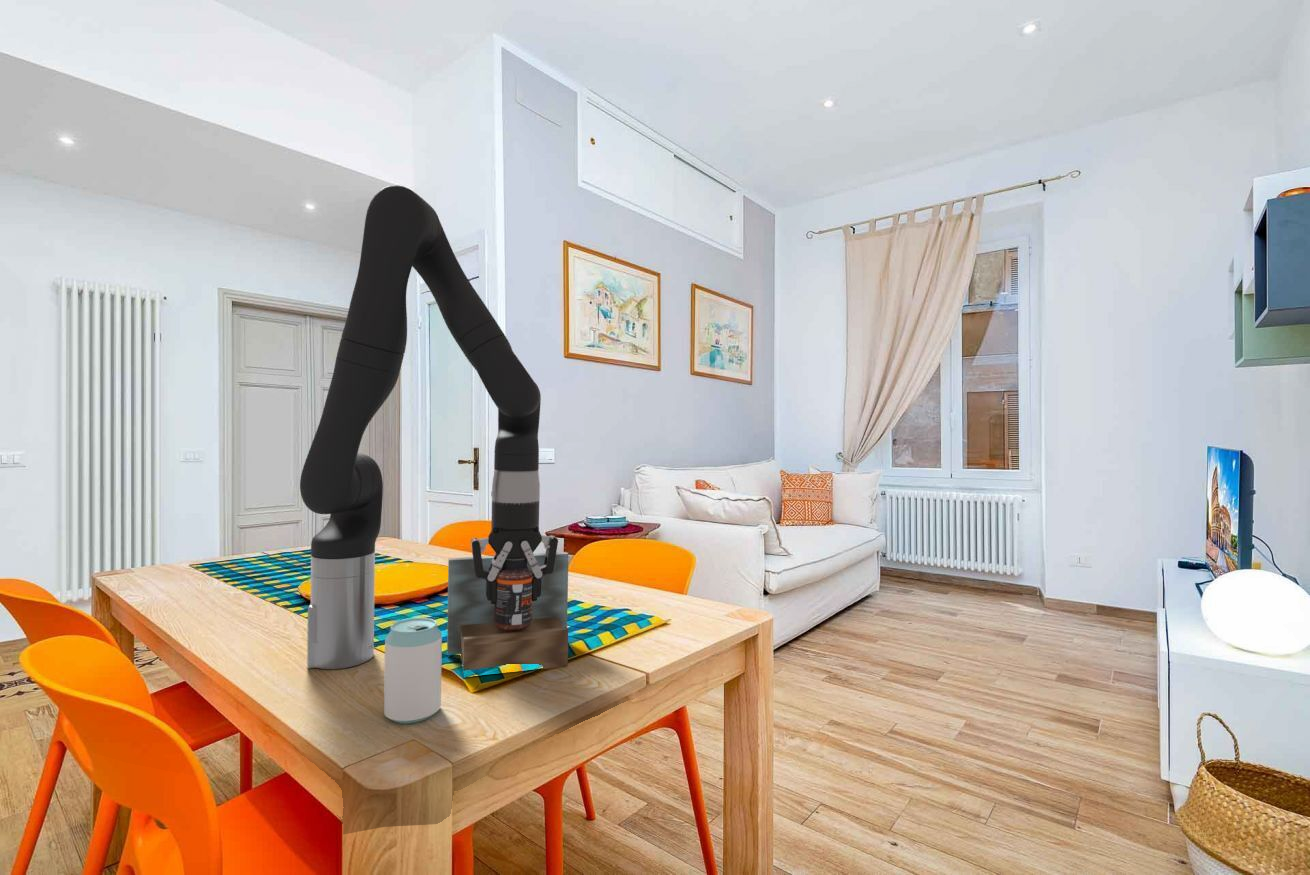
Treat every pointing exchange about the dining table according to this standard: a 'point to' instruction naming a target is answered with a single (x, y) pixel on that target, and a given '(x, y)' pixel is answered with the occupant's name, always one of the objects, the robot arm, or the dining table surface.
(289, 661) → the dining table surface
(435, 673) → the can
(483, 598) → the wall board
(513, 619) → the supplement bottle
